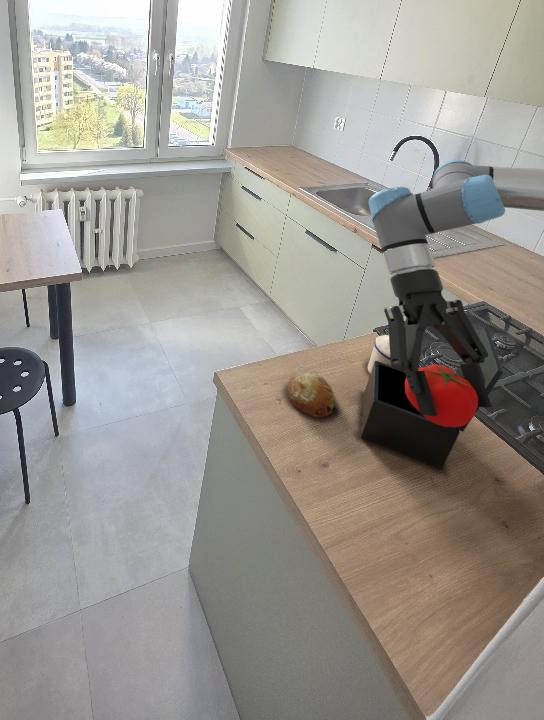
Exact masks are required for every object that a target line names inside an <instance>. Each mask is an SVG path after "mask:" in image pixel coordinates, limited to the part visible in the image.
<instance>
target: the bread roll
mask: <svg viewBox="0 0 544 720" xmlns="http://www.w3.org/2000/svg"><path fill="white" fill-rule="evenodd" d="M287 396H288V400H289V401H290V403H291V404H292V406H294V407H296V408H297V409H298V410H300V411H302V412H303V413H305V414H307V415H309V416H311V417H314V418H325V417H328V416H329V415H331V414H332V413H334V412H336V409H335V406H337V405H338V400H337V399H336V397H335V394H334V390H333V389H332V387H331V386H330V384H329V382H328V381H327V380H326V379H325V378H324V377H323V376H322V375H320V374H317V373H313V372H312V373H311V372H310V373H309V372H305V373H302V374H300V375H298V376H296V377H294V378H293V379H292V380H291V381H290V383H289V384H288V387H287Z"/></svg>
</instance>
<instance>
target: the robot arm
mask: <svg viewBox="0 0 544 720" xmlns="http://www.w3.org/2000/svg"><path fill="white" fill-rule="evenodd" d="M431 187H432V189H430V190H427V191H423V192H418V193H414V194H413V193H412V192H411V189H410V188H408V187H405V186H396V187H395V186H394V187H391V188H386V189H382V190H379V191H377V192H375V193H374V194H373V195H371V196H370V198H369V199H368V207H369V212H370V216H371V222H372V224H373V227H374V230H375V233H376V236H377V240H378V243H379V246H380V249H381V253H382V256H383V259H384V264H385V267H386V270H387V272H388V274H389V275H392V276H390V279H389V281H390V285H391V287H392V290H393V291H392V292H393V294H394V296H395V297H396V298H397V299H398V305H393V306H387V307H384V309H383V311H384V314H385V317H386V320H387V326H388V335H389V343H390V358H391V366H392V367H393V368H398V369H400V370H401V371H404V372H405V374H406V377H407V381H408V384H409V388H410V390H411V392H412V393H415V396H416V400H417V403H418V407H419V410H420V414H421V415H428V416H438V414H437V411H436V408H435V404H434V401H433V398H432V395H431V391H430V388H429V385H428V381H427V378H426V375H425V371H418V369H419V368H420V362H421V354H422V347H423V346H422V345H423V338H424V332H425V331H426V329H427V327H432V328H433V329H435V330H437V331H438V332H439V333H440V335H441V336H442V337H443V338H444V339H445V341H446V342H447V343H448V344H449V346H450V347H451V348H452V350H453V351H454V352H455V353H456V354H457V356H458V357H459V358H460V359H461V360H462V362H465V363H466V364H462V363H459V367H461V370H462V373H463V376H464V379H465V380H467V381H468V382H469V383H470V384H471V386H472V387H473V388H474V390H475V391H476V394H477V396H478V407H480V408H486V409H487V408H492V407H493V406H492V403H491V400H490V397H489V394H487V391H486V388H485V386H484V383H485V378H484V375H483V372H482V369H481V366H480V363H483V362H484V361H485V359H484V358H486V357H488V353H487V351H486V349H485V347H484V346H483V344H482V342H481V340H480V339H479V337H478V336H479V334H478V333H477V332H476V329H475V328H474V326H473V324H472V323H471V321H470V320H469V318H468V315H467V313H466V311H465V308H464V304H463V301H462V299H461V300H460V299H454V300H446V299H445V298H444V296H443V295H442V292H443V290H444V286H443V283H442V280H441V277H440V273H439V272H438V270H437V269H434V268H435V266H436V263H435V259H434V256H433V253H432V251H431V248H430V245H429V242H428V240H427V235H432V234H436V233H440V232H444V231H450V230H454V229H457V228H462V227H466V226H473V225H475V224H478V225H479V224H483V223H485V222H488V221H491V220H494V219H497V218H500V217H502V216H504V215H505V213H506V208H507V209H517V210H529V211H540V212H544V168H528V167H510V166H509V167H507V166H491V165H489V166H488V165H474V164H472V163H470V162H469V161H465V160H461V159H452V160H447V161H446V162H443V163H442V164H440V165H439V166H437V168H436V169H435V171H434V173H433V176H432V178H431ZM404 317H405V318H404ZM476 349H477V350H476Z"/></svg>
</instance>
